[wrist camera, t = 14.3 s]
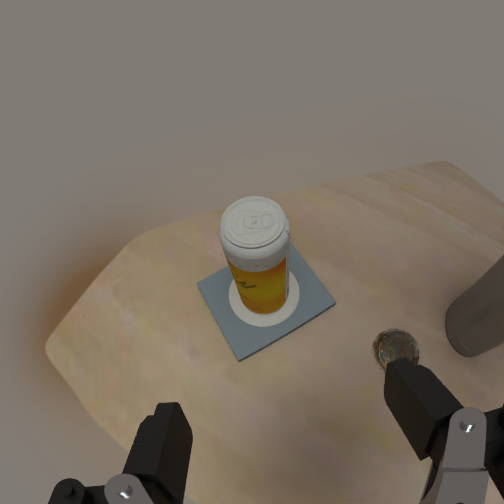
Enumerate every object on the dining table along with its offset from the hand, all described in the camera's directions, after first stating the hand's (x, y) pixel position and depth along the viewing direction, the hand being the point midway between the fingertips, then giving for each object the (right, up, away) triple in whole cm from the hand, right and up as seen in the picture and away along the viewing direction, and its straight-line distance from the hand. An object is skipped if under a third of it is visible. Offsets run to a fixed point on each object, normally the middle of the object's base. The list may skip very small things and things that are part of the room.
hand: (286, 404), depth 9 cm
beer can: (0, 0, +27) cm, 27 cm away
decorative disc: (+17, -7, +22) cm, 28 cm away
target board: (0, 0, +28) cm, 28 cm away
